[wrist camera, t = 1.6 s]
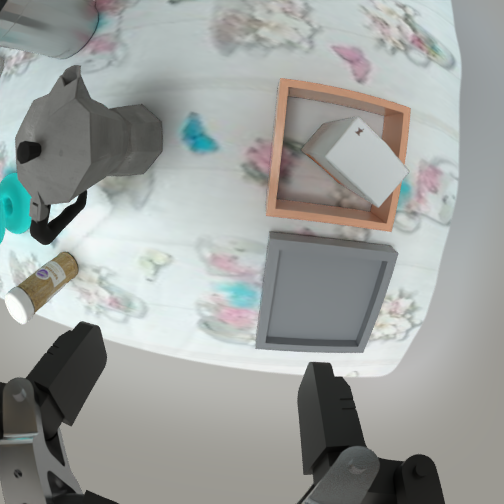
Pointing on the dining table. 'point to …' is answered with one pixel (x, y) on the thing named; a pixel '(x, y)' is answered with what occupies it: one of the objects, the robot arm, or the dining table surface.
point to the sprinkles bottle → (40, 287)
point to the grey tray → (321, 293)
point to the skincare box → (357, 159)
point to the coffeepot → (78, 149)
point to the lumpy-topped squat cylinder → (1, 65)
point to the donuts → (14, 206)
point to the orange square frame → (392, 136)
